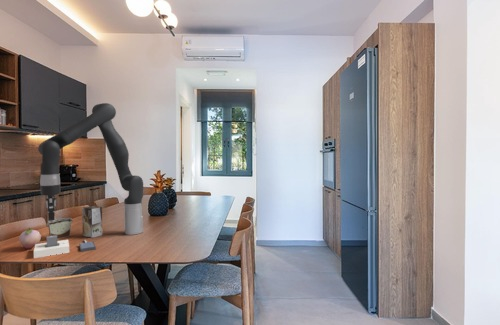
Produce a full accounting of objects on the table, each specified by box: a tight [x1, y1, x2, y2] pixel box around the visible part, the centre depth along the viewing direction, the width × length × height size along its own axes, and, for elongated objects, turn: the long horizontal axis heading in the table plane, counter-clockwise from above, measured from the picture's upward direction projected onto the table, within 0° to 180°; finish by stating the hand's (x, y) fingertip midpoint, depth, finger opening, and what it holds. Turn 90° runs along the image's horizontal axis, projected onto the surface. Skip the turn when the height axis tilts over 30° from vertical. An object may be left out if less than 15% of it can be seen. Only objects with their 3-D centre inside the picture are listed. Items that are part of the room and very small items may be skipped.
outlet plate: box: [33, 239, 70, 259], centre depth 132 cm, size 13×13×3 cm
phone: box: [78, 239, 97, 253], centre depth 141 cm, size 6×19×1 cm, turn 35°
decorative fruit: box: [18, 227, 42, 249], centre depth 137 cm, size 9×8×10 cm
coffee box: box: [81, 205, 103, 239], centre depth 159 cm, size 9×6×16 cm
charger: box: [46, 235, 58, 247], centre depth 132 cm, size 4×4×7 cm
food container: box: [46, 217, 73, 240], centre depth 156 cm, size 12×6×10 cm, turn 149°
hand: (51, 218), depth 132 cm, fingers open, 8 cm apart
